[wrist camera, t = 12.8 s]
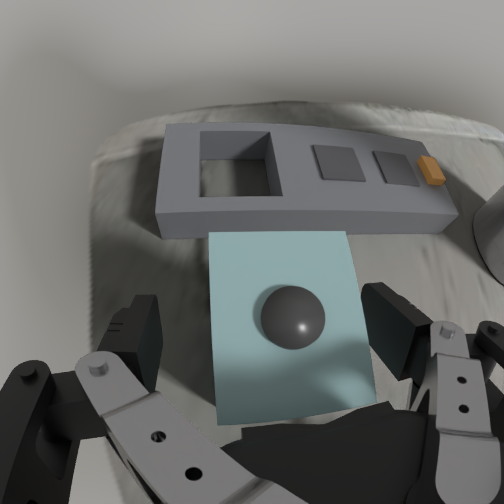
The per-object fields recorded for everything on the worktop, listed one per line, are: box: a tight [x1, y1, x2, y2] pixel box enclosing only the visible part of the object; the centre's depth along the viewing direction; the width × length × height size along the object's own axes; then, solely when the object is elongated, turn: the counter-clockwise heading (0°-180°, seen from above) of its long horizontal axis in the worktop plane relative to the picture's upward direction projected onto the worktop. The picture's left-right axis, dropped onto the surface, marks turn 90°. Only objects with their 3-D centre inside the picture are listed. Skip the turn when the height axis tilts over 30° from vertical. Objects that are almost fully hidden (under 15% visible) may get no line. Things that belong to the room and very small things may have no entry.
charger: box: [209, 231, 377, 425], centre depth 12 cm, size 4×5×10 cm
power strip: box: [155, 122, 459, 239], centre depth 21 cm, size 22×8×4 cm, turn 95°
